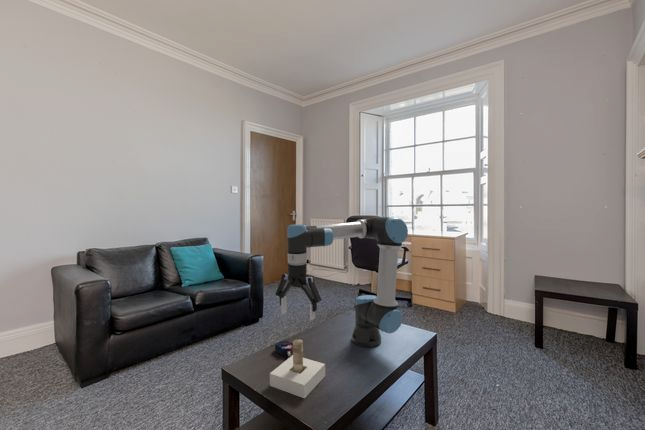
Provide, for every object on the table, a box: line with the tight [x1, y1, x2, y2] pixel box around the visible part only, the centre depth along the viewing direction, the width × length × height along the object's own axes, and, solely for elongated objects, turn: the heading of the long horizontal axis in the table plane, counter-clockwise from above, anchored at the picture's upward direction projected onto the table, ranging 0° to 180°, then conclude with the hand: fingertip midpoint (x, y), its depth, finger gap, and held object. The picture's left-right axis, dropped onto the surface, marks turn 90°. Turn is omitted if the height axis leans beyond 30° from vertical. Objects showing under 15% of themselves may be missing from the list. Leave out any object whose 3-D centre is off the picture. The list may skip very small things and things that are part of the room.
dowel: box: [292, 339, 304, 374], centre depth 117 cm, size 4×4×16 cm
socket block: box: [269, 355, 326, 399], centre depth 117 cm, size 16×16×5 cm
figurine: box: [274, 339, 293, 357], centre depth 139 cm, size 9×4×15 cm
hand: (297, 316), depth 116 cm, fingers open, 13 cm apart
